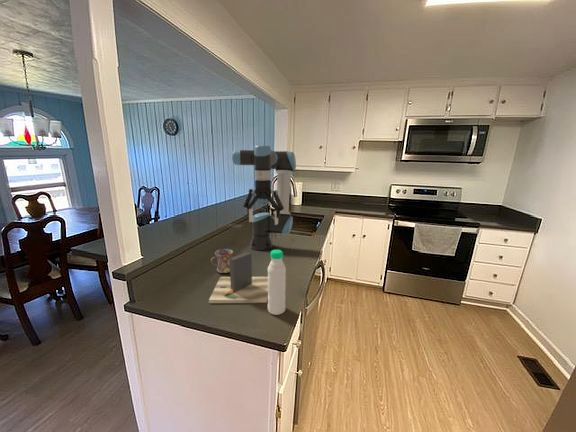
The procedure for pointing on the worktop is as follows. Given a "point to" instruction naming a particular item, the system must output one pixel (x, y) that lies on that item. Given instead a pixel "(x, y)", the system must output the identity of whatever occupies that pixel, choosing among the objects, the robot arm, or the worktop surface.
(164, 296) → the worktop surface
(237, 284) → the gray square slab
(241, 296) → the beige flat board
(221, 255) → the mug
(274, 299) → the water bottle
